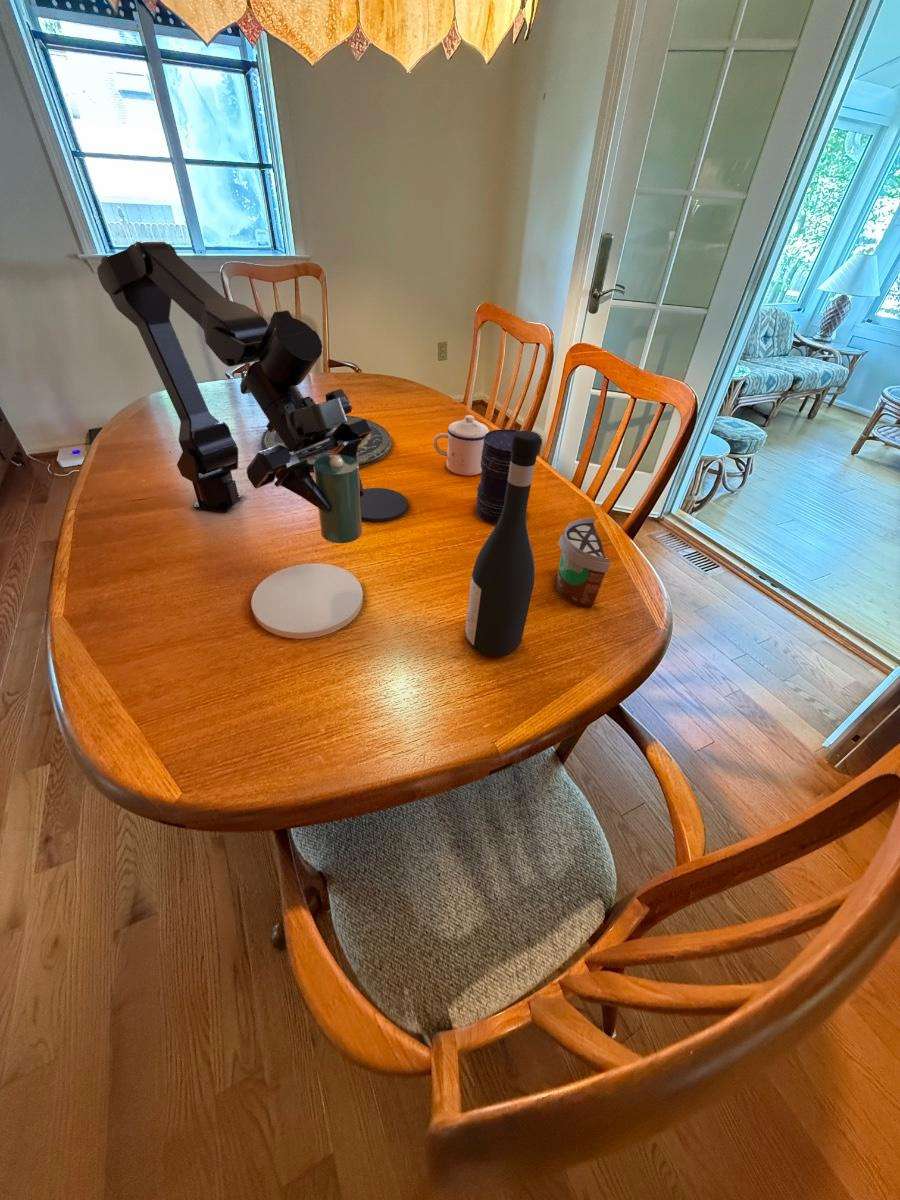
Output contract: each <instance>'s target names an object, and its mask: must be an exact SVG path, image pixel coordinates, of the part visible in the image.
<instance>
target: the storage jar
mask: <svg viewBox="0 0 900 1200" xmlns="http://www.w3.org/2000/svg"><path fill="white" fill-rule="evenodd" d="M517 431H518V430H516V429H509V428H507V429H506V428H505V429H504V428H503V429H502V428H501V429H494V430H491V431H490V430H489V432H488V433H487V434H485V436H484V444H483V449H482V456H481V458H482V459H481V468H482V472H481V473H480V481H479V483H478V485H477V486H478V487H477V494H476V508H475V513H476V515H477V517H478V518H479V519H481V521H483V522H485V523H487V524H490V525H494V526H496V524H497V522H498V521H499V518H500V516H501V513H502V510H503V506H504V501H505V495H506V488H507V481H508V474H509V467H510V460H511V451H512V450H511V443H512V437H513V434H514V433H515V432H517Z"/></svg>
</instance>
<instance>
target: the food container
mask: <svg viewBox="0 0 900 1200" xmlns="http://www.w3.org/2000/svg"><path fill="white" fill-rule="evenodd" d="M595 522H596V517H589V518H588V517H585V518H578V519H575V520H573V521H572V522H570V523H569V524H568V525H567V526H566V527H565V528H564V530H563V532H562V533H561V535H560V538H559V540H558V546H559V548H560V551H561V554H560V559H559V565H558V570H557V571H558V572H557V578H556V583H555V585H556V589H557V591H558V593H559V594H560V595H561V596H562V597H563V598H564V599H565V600H567V601H568V602H570V603H571V604H575V605H577V606H579V607H584V608H590V609H591V608H593V606H594V604H595V601H596V598H597V596H598V593H599V591H600V588H601V585H602V583H603V581H604V578H605V575H606V574H608V573H609V569H610V565H611V559H612V558H607V557H606V555H605V552H604V548H603V544H602V540H601V538H600V536H599V534H598V532H597V530H596V527H595Z"/></svg>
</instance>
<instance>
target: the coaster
mask: <svg viewBox="0 0 900 1200" xmlns="http://www.w3.org/2000/svg"><path fill="white" fill-rule="evenodd" d="M363 491H364V495H363V496H361V497H360V502H361V521H363V522H368V523H384V522H390V521H394V520H397V519H399V518H400V517H403V515H405V513H407V511H408V507H409V506H408V503H409V502H408V499H407V498H406V497H405V496H404V495H403V494H402V493H401V492H399V491H397V490H394V489H391V488H384V487H369V488H363Z"/></svg>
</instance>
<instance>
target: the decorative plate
mask: <svg viewBox="0 0 900 1200" xmlns="http://www.w3.org/2000/svg"><path fill="white" fill-rule="evenodd" d="M345 416H346V419H347V421H348V420H351V419H354V418H356V417H357V416H354V415H347V414H345ZM364 419H365V420H366V421H367V423H368V425H369V426H370V428H371V430H372V432H371V433H370V434H369V435H368V436H367V437H366V438H365V439H364V440H363V441H362V442H361V444H360V445H359V446H358V448H357V455H356V456H357V462H358V464H359V469H360V468H363V467H367V466H370V465H372V464H374V463H377V462H378V461H380V460H382V459H383V458H385V457H386V456H387V455H388V454H389V453H390V451H391V449H392V438H391V435H390V434H389V431H388V430H387V429H386V428H384V426H382V425H380V424H378V423H377V422H374V421H372V420H370V419H367V418H364ZM340 424H341V423H338V424H336V425H333V427H334V428H333V429H332V430H331V431H330V432H328V433H327V434H326V435H327V436H329V435H331V434H332V433H333V432H334V431H335V430H336V429H337V428H338V426H339V425H340ZM260 444H261V445H260V447H261V449H262V451H263V450H266V449H269V448H272V447H275V446H278V445H281V446H284V447H285V445H284V444H283V442H282V440H281V439H280V437H279V436H278V434H277V433H276V431H274V432H271V433H270V431H269V430H268V428H267V429H266V430H265V431H264V432H263V434H262V436H261V438H260ZM320 447H321V446H319V447H317V448H320ZM317 448H316V449H317ZM307 452H308V451H306V452H304V453H307ZM304 453H302V454H304ZM328 455H332V454H331V452H330V451H327V452H325V453H322V454H319V455H317V456H314V457H312V458H309V459H307V462H308V467H309V471H310V472H314V462H315V461H316V460H317V459H319V458H321V457H324V456H328Z"/></svg>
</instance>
